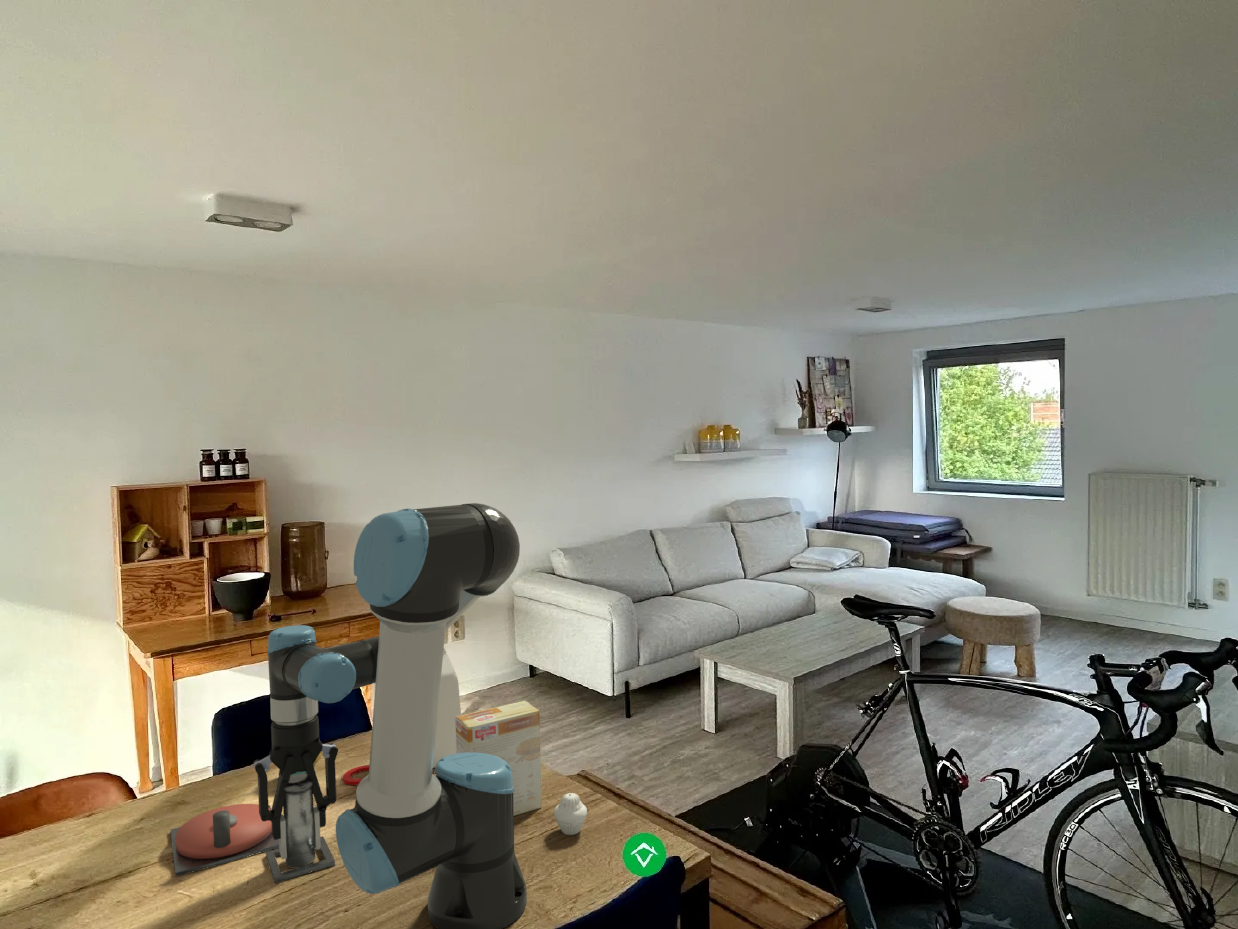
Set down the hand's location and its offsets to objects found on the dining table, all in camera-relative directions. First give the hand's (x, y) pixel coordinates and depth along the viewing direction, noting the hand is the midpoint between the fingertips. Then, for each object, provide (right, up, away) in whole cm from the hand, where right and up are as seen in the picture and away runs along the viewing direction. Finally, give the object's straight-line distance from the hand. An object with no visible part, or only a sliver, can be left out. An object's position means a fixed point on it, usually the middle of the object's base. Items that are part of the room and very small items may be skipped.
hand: (300, 850), depth 136 cm
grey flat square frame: (0, -2, 0) cm, 2 cm away
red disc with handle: (-17, -2, +8) cm, 18 cm away
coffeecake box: (+32, -1, +17) cm, 36 cm away
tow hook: (+1, -1, +33) cm, 33 cm away
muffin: (+46, -1, +9) cm, 47 cm away
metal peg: (0, -2, 0) cm, 2 cm away
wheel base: (-17, -2, +8) cm, 18 cm away
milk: (+12, 0, +42) cm, 44 cm away
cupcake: (-13, -1, +32) cm, 35 cm away
